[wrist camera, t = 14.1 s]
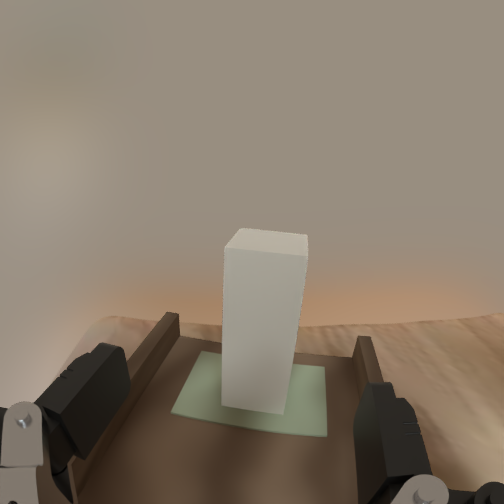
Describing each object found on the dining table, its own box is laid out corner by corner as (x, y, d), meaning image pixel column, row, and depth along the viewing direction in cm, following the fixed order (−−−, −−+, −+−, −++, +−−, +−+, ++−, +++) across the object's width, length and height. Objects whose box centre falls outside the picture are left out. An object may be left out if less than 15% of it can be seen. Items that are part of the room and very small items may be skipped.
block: (287, 376, 25) (307, 234, 21) (283, 414, 20) (308, 256, 17) (233, 369, 25) (240, 227, 21) (221, 405, 21) (224, 247, 17)
